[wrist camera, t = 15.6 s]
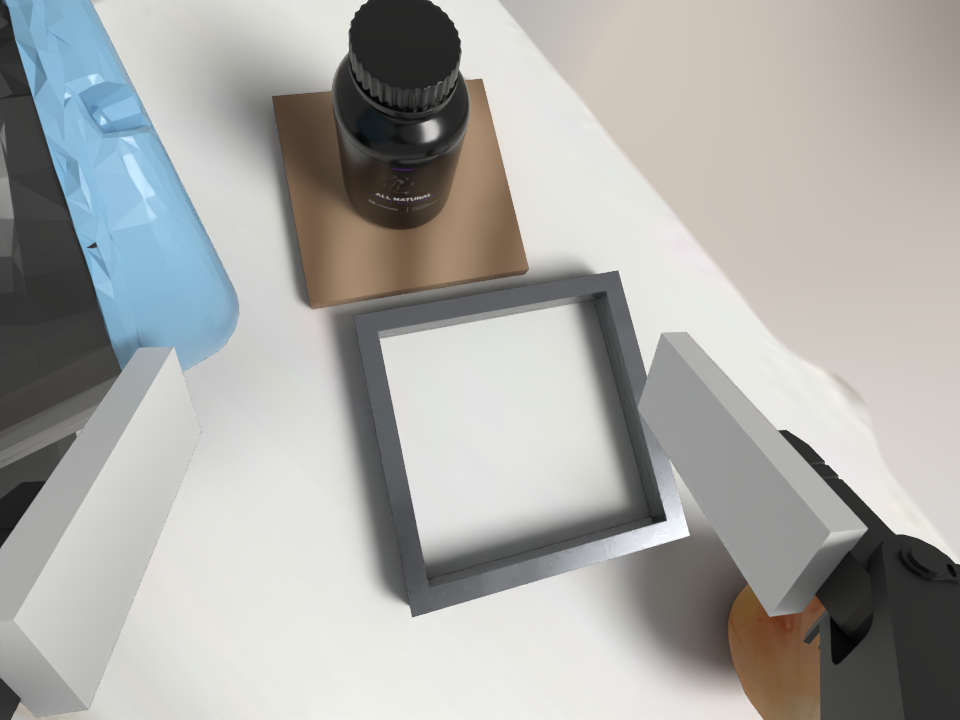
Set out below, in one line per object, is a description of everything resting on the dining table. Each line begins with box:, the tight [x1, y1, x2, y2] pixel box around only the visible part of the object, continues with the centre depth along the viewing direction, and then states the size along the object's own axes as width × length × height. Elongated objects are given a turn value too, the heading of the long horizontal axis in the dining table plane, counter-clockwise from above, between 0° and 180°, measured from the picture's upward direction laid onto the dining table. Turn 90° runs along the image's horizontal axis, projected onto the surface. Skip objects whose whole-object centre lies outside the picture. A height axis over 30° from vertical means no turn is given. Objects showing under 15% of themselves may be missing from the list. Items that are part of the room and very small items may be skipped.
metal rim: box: [354, 271, 690, 617], centre depth 32 cm, size 17×17×2 cm
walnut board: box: [272, 79, 529, 309], centre depth 34 cm, size 14×14×1 cm
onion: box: [728, 584, 826, 720], centre depth 28 cm, size 10×10×10 cm
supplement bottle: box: [332, 0, 470, 230], centre depth 27 cm, size 7×7×12 cm
